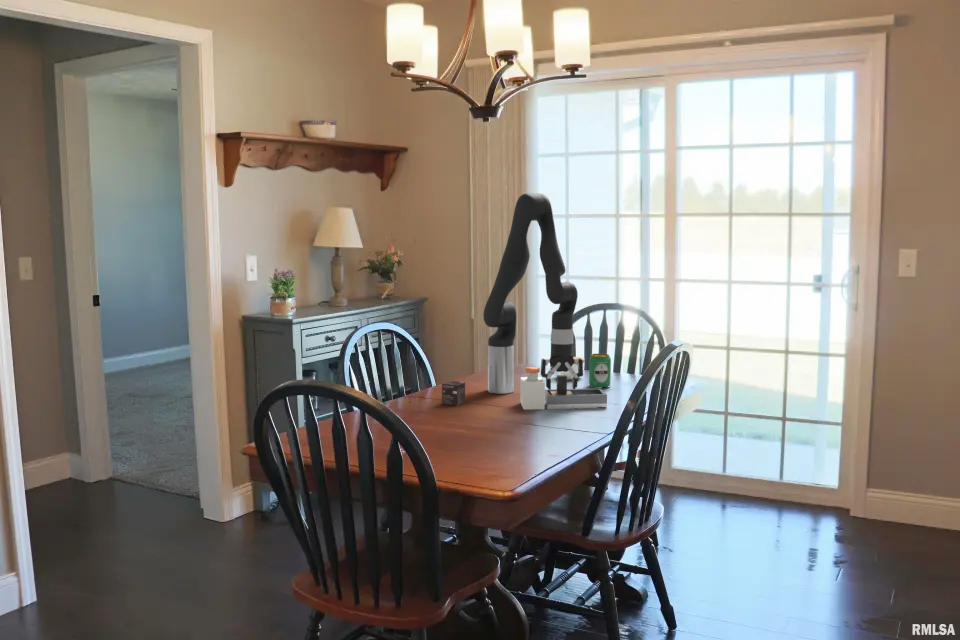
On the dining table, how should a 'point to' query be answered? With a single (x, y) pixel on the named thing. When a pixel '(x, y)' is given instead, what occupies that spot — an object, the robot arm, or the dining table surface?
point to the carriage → (561, 386)
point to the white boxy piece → (532, 393)
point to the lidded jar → (574, 367)
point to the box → (453, 393)
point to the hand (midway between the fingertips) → (561, 389)
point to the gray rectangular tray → (576, 399)
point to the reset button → (532, 373)
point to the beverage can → (599, 370)
